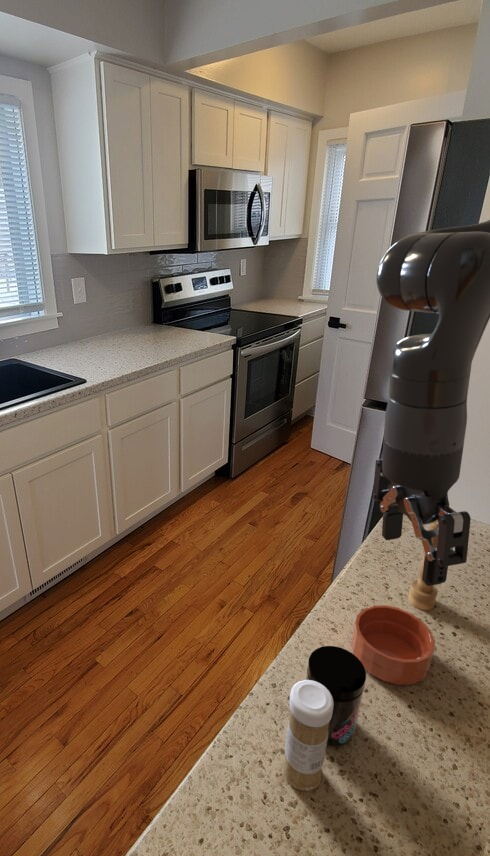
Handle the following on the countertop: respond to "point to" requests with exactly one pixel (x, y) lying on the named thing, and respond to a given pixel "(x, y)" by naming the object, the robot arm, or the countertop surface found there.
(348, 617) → the countertop surface
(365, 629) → the bowl
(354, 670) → the supplement container
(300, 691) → the sprinkles bottle
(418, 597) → the muddler
